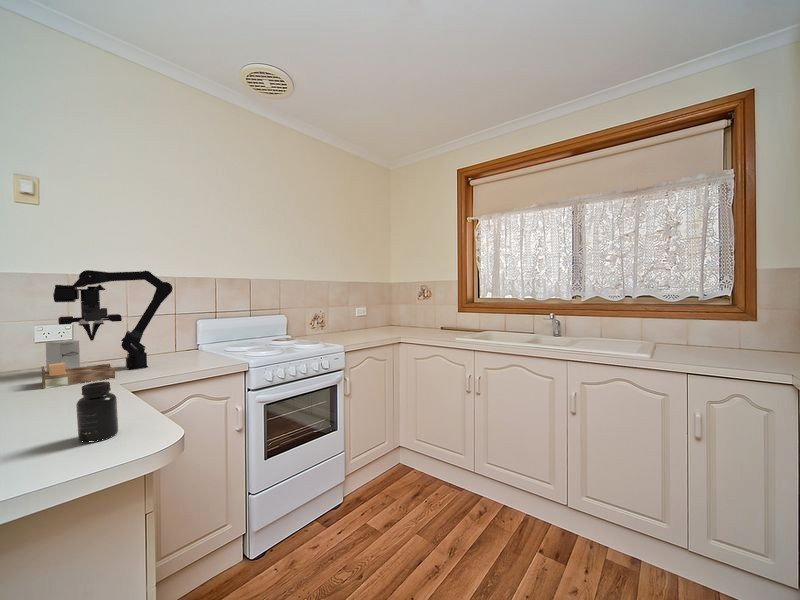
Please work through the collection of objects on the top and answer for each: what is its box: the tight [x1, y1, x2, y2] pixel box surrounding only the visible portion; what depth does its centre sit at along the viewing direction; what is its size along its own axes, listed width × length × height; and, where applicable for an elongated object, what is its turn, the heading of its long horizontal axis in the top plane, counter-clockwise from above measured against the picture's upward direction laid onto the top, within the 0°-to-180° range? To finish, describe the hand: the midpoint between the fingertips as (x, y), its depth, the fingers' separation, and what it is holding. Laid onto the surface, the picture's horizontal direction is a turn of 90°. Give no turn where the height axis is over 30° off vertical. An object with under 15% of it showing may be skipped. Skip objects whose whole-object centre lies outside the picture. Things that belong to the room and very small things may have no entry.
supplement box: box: [45, 339, 81, 372], centre depth 143 cm, size 7×7×13 cm
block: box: [49, 363, 65, 376], centre depth 124 cm, size 4×4×4 cm
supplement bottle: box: [76, 381, 119, 442], centre depth 78 cm, size 7×7×12 cm
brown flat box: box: [41, 363, 116, 390], centre depth 128 cm, size 19×11×6 cm, turn 137°
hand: (91, 340), depth 141 cm, fingers closed
